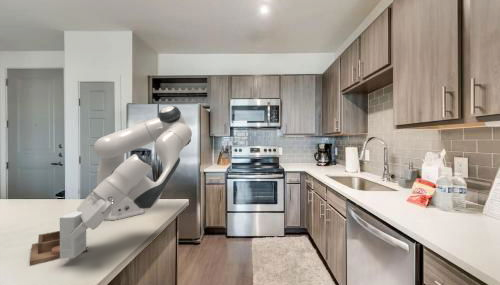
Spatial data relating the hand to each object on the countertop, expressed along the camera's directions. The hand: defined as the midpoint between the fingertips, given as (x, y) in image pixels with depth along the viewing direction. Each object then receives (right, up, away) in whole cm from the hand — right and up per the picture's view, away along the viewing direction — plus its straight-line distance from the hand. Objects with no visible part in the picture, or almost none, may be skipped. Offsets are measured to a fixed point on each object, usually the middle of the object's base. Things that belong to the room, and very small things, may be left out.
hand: (70, 232), depth 73 cm
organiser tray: (-10, -9, +9) cm, 16 cm away
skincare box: (0, -7, 0) cm, 7 cm away
